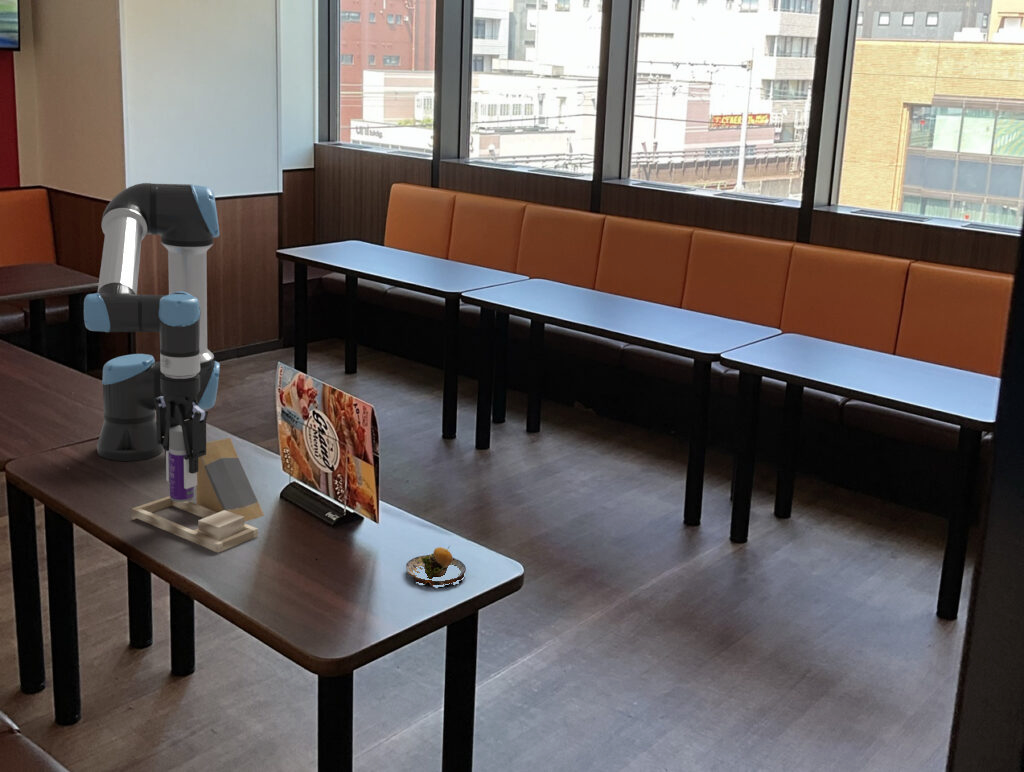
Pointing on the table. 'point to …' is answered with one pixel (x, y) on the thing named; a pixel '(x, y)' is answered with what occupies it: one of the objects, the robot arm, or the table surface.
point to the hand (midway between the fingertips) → (181, 482)
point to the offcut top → (221, 523)
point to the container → (178, 466)
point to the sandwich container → (225, 482)
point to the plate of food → (435, 566)
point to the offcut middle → (223, 535)
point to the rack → (194, 536)
